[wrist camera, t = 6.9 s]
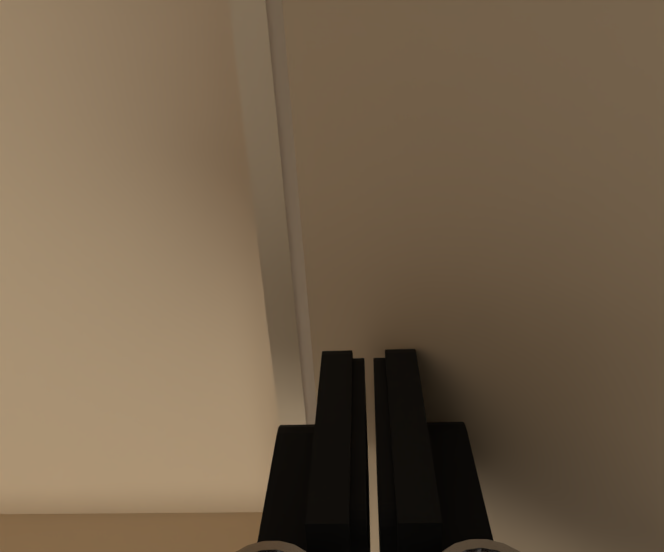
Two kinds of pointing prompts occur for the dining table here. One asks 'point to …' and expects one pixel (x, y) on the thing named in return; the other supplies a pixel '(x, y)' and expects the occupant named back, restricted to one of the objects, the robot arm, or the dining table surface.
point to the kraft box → (146, 273)
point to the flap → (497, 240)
